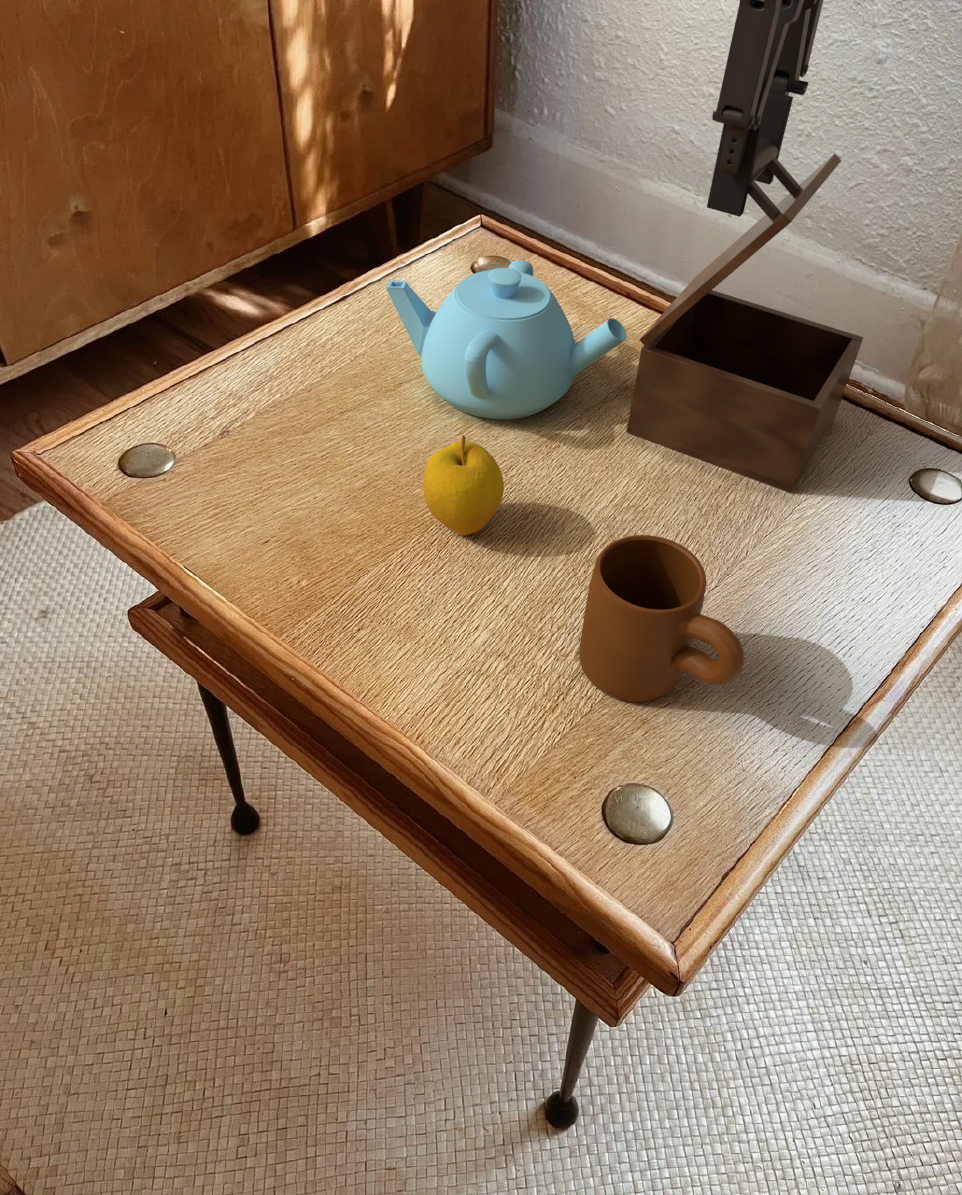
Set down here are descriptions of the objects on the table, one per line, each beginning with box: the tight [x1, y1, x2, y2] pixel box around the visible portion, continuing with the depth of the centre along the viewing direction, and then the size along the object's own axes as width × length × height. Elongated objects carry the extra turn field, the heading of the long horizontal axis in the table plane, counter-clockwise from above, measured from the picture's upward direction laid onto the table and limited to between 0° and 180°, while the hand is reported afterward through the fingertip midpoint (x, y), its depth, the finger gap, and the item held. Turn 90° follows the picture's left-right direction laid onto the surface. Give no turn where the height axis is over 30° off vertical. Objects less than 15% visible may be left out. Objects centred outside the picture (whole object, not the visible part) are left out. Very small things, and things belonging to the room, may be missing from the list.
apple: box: [422, 434, 505, 536], centre depth 81 cm, size 6×6×8 cm
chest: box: [625, 289, 864, 494], centre depth 91 cm, size 16×13×9 cm
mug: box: [578, 534, 745, 703], centre depth 69 cm, size 12×8×9 cm, turn 41°
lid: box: [639, 137, 842, 346], centre depth 83 cm, size 16×13×6 cm
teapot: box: [386, 259, 628, 420], centre depth 93 cm, size 15×17×11 cm
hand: (740, 193), depth 81 cm, fingers closed on lid, 6 cm apart
